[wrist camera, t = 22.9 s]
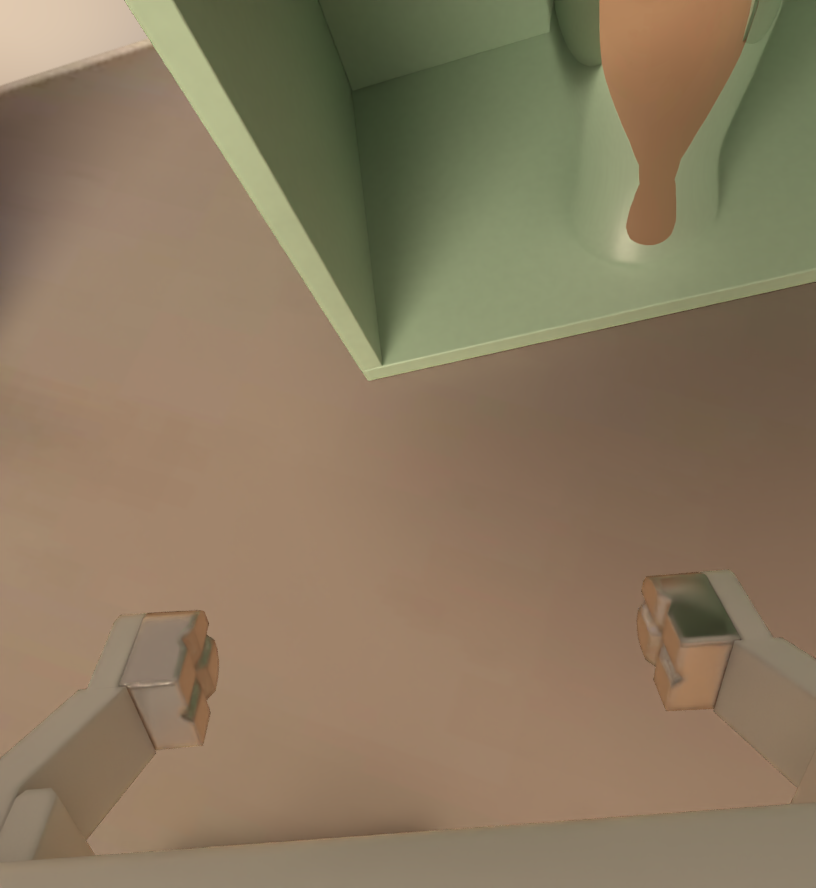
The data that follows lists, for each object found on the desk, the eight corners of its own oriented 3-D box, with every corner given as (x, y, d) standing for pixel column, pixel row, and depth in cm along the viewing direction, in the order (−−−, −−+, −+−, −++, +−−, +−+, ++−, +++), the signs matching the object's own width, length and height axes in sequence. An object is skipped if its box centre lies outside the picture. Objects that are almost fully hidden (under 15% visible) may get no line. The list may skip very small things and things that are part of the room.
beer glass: (757, 169, 29) (897, -308, 16) (684, 298, 28) (771, -105, 14) (603, 129, 32) (612, -307, 19) (530, 245, 31) (482, -136, 17)
